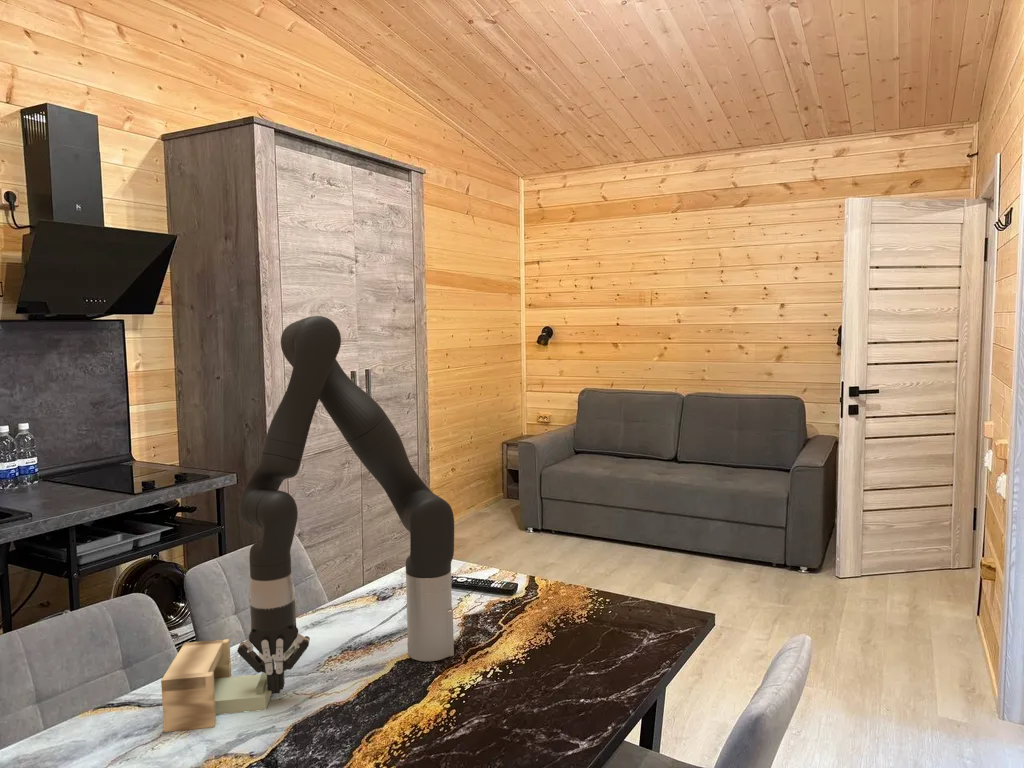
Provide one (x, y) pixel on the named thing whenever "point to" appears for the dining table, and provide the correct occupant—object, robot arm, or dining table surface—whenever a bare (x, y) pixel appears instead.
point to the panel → (241, 693)
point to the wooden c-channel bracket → (194, 684)
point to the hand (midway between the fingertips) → (276, 691)
